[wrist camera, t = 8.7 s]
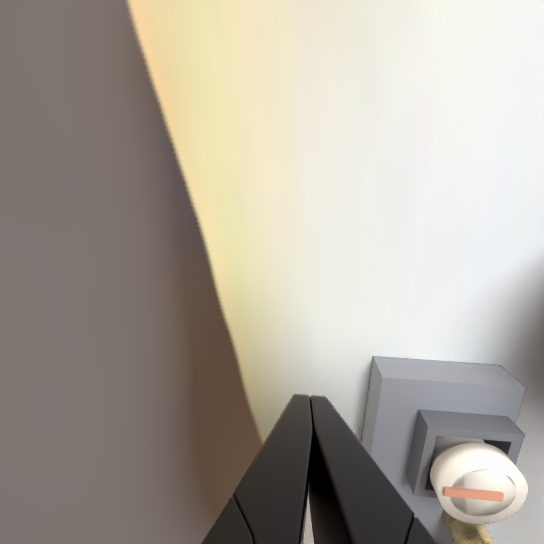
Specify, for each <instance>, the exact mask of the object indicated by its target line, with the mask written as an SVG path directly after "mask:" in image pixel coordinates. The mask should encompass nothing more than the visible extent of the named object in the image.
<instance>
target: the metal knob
mask: <svg viewBox="0 0 544 544" xmlns="http://www.w3.org/2000/svg"><path fill="white" fill-rule="evenodd" d="M442 518H443V520H444V522H445V525H446V527H447V529H448V531H449V534H450V536H451V538H452V540H453V543H454V544H495V543H494V541H493V540H492V538H491V536H490V534H489V533H488V531H487V529H486V527H485V525H484V524H472V523H467V522H463V521H460V520H458V519H456V518H454V517H452V516H451V515H449V514H448V513H447V512H446V511H445V510H443V512H442Z"/></svg>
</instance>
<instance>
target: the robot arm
mask: <svg viewBox="0 0 544 544" xmlns="http://www.w3.org/2000/svg"><path fill="white" fill-rule="evenodd" d="M308 492H309V504H310V513H311V521H312V529H313V538H314V544H438V543H437V542H436V541H435V539H434V538H433V537H432V535H431V534H430V533H429V532H428V530H427V529H426V528H425V526H424V525H423V524H422V522H421V521H420V520H419V518H418V517H414V516H415V514H414V512H413V511H412V509H411V508H410V507H409V505H408V504H407V503H406V501H405V500H404V499H403V497H402V496H401V495H400V493H399V492H398V491H397V490H396V488H395V487H394V486H393V484H392V483H391V482H390V480H389V479H388V478H387V476H386V475H385V474H384V472H383V471H382V470H381V468H380V467H379V466H378V464H377V463H376V462H375V460H374V459H373V458H372V457H371V455H370V454H369V453H368V451H367V450H366V449H365V447H364V446H363V445H362V443H361V442H360V441H359V439H358V438H357V437H356V435H355V434H354V433H353V431H352V430H351V429H350V427H349V426H348V425H347V424H346V422H345V421H344V420H343V418H342V417H341V416H340V414H339V413H338V412H337V410H336V409H335V408H334V406H333V405H332V404H331V402H330V401H329V400H328V398H327V397H325V396H317V395H312V396H310V397H309V396H308V395H304V394H294V395H293V396H292V398H291V399H290V401H289V403H288V404H287V406H286V408H285V409H284V411H283V413H282V414H281V416H280V418H279V419H278V421H277V422H276V424H275V426H274V427H273V429H272V431H271V432H270V434H269V436H268V437H267V439H266V441H265V442H264V444H263V445H262V447H261V449H260V450H259V452H258V454H257V455H256V457H255V459H254V460H253V462H252V464H251V465H250V467H249V468H248V470H247V472H246V474H245V475H244V477H243V478H242V480H241V482H240V483H239V485H238V487H237V488H236V490H235V492H234V493H233V496H232V498H230V499H229V501H228V503H227V504H226V506H225V508H224V509H223V511H222V512H221V514H220V516H219V517H218V519H217V520H216V522H215V523H214V525H213V527H212V528H211V530H210V531H209V533H208V534H207V536H206V537H205V539H204V540H203V542H202V543H201V544H303V540H304V529H305V519H306V509H307V498H308Z"/></svg>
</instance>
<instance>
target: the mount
mask: <svg viewBox="0 0 544 544" xmlns="http://www.w3.org/2000/svg"><path fill="white" fill-rule="evenodd" d="M525 391H526V387H525V386H524V385H523V384H521V383H520V382H519V381H518V380H517V379H516V378H514V377H513V376H512V375H511V374H510V373H509V372H507V371H506V370H505V369H504V368H503V367H502V366H500V365H492V364H478V363H463V362H449V361H434V360H420V359H405V358H391V357H376V356H373V361H372V368H371V375H370V382H369V389H368V396H367V403H366V411H365V418H364V425H363V432H362V439H361V443H362V445H363V446H364V447H365V449H366V450H367V451H368V453H369V454H370V455H371V457H372V458H373V459H374V460H375V462H376V463H377V464H378V466H379V467H380V468H381V470H382V471H383V472H384V474H385V475H386V476H387V478H388V479H389V480H390V482H391V483H392V484H393V486H394V487H395V488H396V490H397V491H398V492H399V493H400V495H401V496H402V497H403V499H404V500H405V501H406V503H407V504H408V505H409V507H410V508H411V509H412V511H413V512H414V514H415V516H414V517H418V518H419V520H420V521H421V522H422V524H423V525H424V526H425V528H426V529H427V530H428V532H429V533H430V534H431V535H432V537H433V538H434V539H435V541H436V542H437V543H438V544H454V543H453V540H452V538H451V536H450V534H449V531H448V529H447V527H446V525H445V522H444V520H443V518H442V512H443V510H444V509H443V507H442V505H441V503H440V501H439V499H438V497H437V494H436V492H435V490H434V488H433V486H432V483H431V480H430V471H431V467H432V465H433V464H432V462H431V458H432V454H433V450H434V445H435V441H436V436H437V435H438V436H449V437H461V438H473V439H483V441H484V442H485V443H486V444H489V445H492V446H495V447H497V448H499V449H500V450H502V451H503V452H504V453H505V454H506V455H507V456H508V457H509V458H510V460H511V461H512V462H513V463H514V465H515V463H516V460H517V457H518V454H519V451H520V448H521V445H522V442H523V439H524V436H525V434H524V433H523V432H522V431H521V430H520V429H519V428H518V427H517V426H516V425H515V423H516V420H517V417H518V413H519V410H520V407H521V404H522V401H523V397H524V394H525Z"/></svg>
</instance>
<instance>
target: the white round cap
mask: <svg viewBox="0 0 544 544" xmlns="http://www.w3.org/2000/svg"><path fill="white" fill-rule="evenodd" d="M431 462H432V464H433V465H432V467H431V471H430V480H431V483H432V486H433V488H434V490H435V492H436V494H437V497H438V499H439V501H440V503H441V505H442V507H443V509H444V510H445V511H446V512H447V513H448V514H449V515H451V516H452V517H454V518H456V519H458V520H460V521H463V522H467V523H472V524H488V523H494V522H498V521H501V520H503V519H506V518H508V517H509V516H511V515H513V514H514V513H515V512H517V511H518V510H519V509H520V508H521V507H522V505H523V504H524V502H525V500H526V498H527V494H528V485H527V482H526V479H525V478H524V476H523V475H522V473H521V472H520V471H519V470H518V468H517V467H516V466H515V465H514V463H513V462H512V461H511V460H510V458H509V457H508V456H507V455H506V454H505V453H504V452H503V451H502V450H500V449H499V448H497V447H495V446H492V445H489V444H486V443H485V442H484V441H483V439H473V438H461V437H449V436H438V435H437V436H436V441H435V445H434V450H433V454H432V458H431Z"/></svg>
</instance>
